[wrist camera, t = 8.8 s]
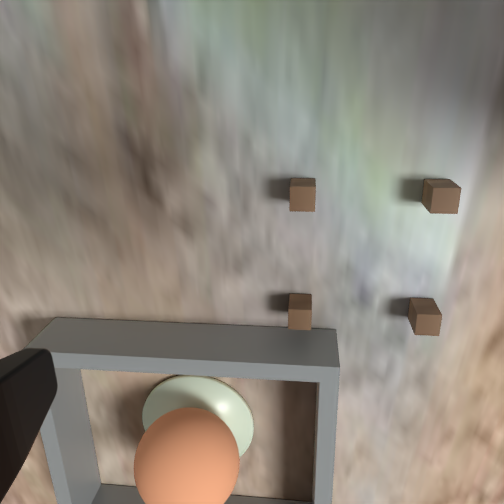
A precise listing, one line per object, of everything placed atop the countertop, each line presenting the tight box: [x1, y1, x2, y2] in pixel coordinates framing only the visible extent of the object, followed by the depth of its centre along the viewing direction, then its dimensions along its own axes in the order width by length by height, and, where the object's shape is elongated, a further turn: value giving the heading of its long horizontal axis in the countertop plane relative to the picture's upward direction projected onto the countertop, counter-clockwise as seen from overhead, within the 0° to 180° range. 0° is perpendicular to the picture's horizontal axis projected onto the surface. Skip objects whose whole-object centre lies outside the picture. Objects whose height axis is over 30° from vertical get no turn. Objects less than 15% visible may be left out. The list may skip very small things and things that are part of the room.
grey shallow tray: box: [24, 317, 340, 504], centre depth 23 cm, size 14×12×3 cm
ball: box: [134, 407, 240, 504], centre depth 22 cm, size 5×5×5 cm
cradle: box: [288, 178, 461, 336], centre depth 19 cm, size 6×6×2 cm
